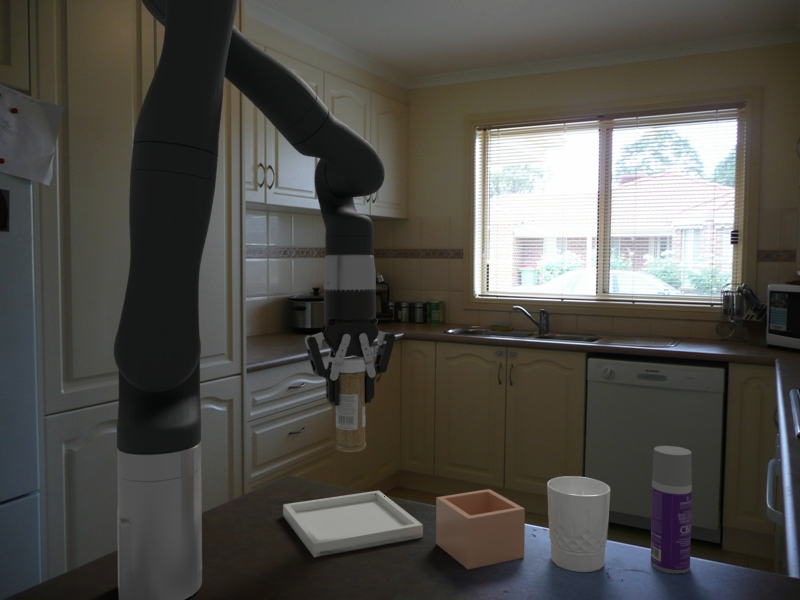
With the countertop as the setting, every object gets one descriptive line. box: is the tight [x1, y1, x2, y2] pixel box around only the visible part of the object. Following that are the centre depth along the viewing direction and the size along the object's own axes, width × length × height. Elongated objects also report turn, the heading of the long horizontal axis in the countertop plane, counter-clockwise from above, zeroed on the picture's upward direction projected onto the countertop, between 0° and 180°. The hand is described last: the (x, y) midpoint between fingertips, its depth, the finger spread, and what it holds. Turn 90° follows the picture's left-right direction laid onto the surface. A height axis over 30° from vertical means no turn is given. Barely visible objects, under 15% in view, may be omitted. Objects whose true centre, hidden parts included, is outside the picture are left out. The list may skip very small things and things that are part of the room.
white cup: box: [546, 475, 611, 573], centre depth 84 cm, size 8×8×10 cm
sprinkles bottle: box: [335, 356, 367, 453], centre depth 95 cm, size 5×5×14 cm
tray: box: [282, 490, 424, 558], centre depth 96 cm, size 16×16×2 cm
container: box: [650, 445, 693, 575], centre depth 83 cm, size 5×5×15 cm
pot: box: [435, 488, 526, 570], centre depth 87 cm, size 9×9×6 cm
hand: (350, 403), depth 95 cm, fingers closed on sprinkles bottle, 4 cm apart
